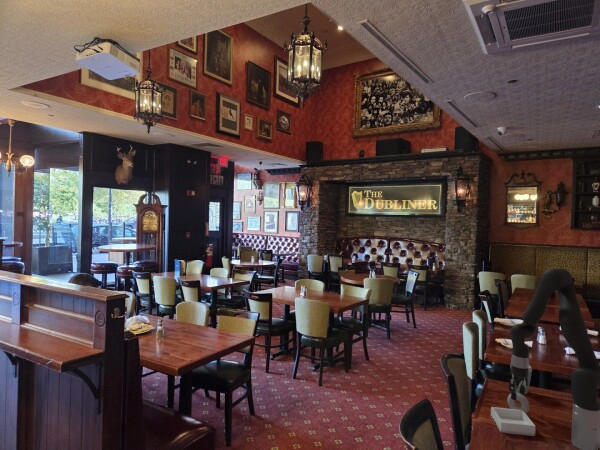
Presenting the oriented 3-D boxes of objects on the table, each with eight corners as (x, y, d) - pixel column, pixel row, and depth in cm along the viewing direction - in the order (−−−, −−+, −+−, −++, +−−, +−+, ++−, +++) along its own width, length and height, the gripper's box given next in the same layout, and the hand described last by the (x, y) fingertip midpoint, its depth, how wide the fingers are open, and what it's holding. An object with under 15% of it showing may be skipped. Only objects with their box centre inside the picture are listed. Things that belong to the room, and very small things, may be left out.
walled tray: (522, 419, 185) (522, 410, 184) (535, 436, 171) (535, 426, 171) (490, 416, 187) (491, 406, 187) (500, 432, 173) (501, 422, 173)
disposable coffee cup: (534, 397, 208) (536, 369, 208) (512, 394, 210) (513, 367, 210) (527, 388, 218) (528, 361, 218) (506, 386, 221) (507, 359, 220)
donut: (505, 410, 193) (506, 390, 193) (508, 408, 195) (509, 388, 195) (527, 419, 185) (528, 398, 185) (530, 416, 187) (531, 396, 187)
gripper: (520, 370, 182) (518, 404, 183) (534, 364, 191) (532, 396, 191) (504, 365, 188) (502, 397, 189) (518, 359, 197) (517, 390, 197)
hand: (517, 397), depth 190 cm, fingers open, 8 cm apart
